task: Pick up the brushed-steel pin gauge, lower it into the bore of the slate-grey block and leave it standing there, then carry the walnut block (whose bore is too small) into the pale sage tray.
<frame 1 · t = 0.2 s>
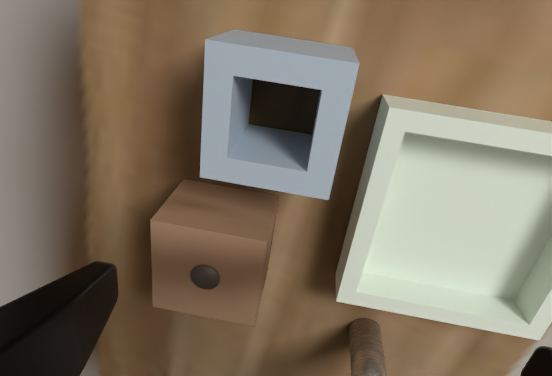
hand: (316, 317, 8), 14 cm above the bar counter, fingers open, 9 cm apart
walnut block: (228, 226, 25), on the bar counter
tray: (458, 213, 22), on the bar counter
bored block: (284, 97, 20), on the bar counter
pin gauge: (364, 329, 27), on the bar counter
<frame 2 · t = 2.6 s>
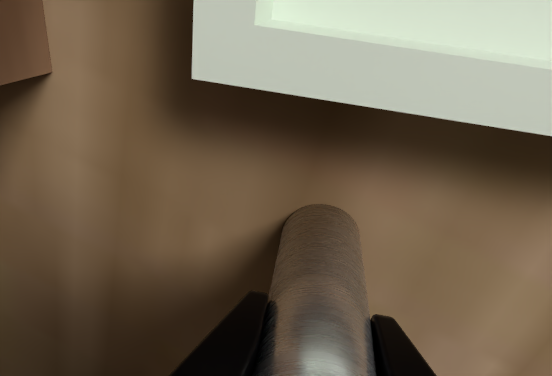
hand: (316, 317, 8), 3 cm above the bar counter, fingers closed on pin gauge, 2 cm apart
pin gauge: (320, 238, 11), on the bar counter, touching gripper
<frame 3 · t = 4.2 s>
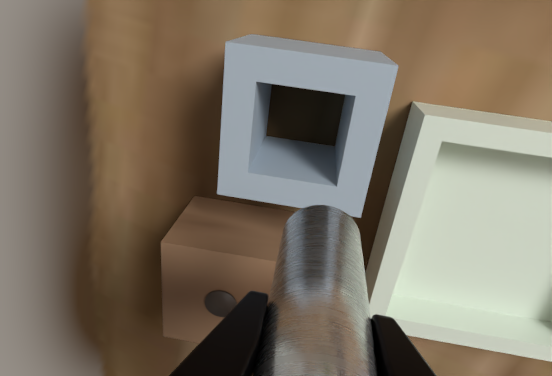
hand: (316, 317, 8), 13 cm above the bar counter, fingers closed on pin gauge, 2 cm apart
walnut block: (242, 246, 23), on the bar counter
tray: (494, 228, 20), on the bar counter
bored block: (305, 106, 19), on the bar counter
pin gauge: (320, 238, 11), point 10 cm above the bar counter, touching gripper
when the fingers open (6 cm above the bar counter, at t = 5.9 s): pin gauge drops 3 cm, resting in bored block.
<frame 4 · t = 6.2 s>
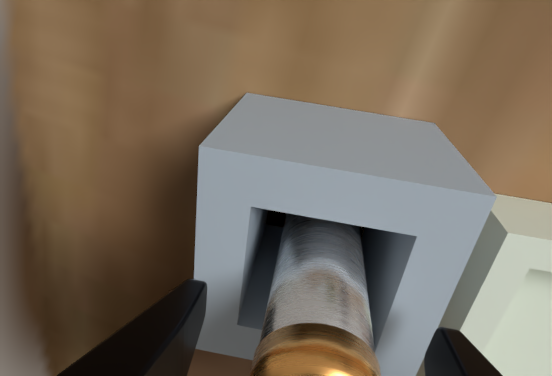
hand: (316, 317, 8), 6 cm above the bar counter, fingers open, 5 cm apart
walnut block: (233, 348, 18), on the bar counter
bored block: (321, 190, 13), on the bar counter
pin gauge: (323, 190, 13), resting in bored block
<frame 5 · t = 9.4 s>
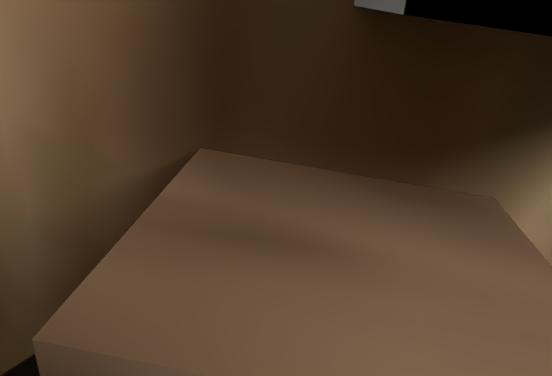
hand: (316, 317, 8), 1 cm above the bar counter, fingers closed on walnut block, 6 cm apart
walnut block: (317, 285, 9), on the bar counter, touching gripper
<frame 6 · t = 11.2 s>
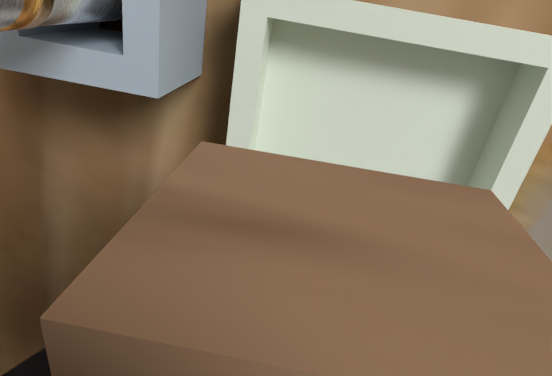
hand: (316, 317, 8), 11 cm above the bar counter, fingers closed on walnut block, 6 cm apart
walnut block: (317, 277, 9), point 10 cm above the bar counter, touching gripper
tray: (362, 148, 18), on the bar counter
when the fingers open (3 cm above the bar counter, at t = 13.2 s): walnut block drops 2 cm, resting on tray.
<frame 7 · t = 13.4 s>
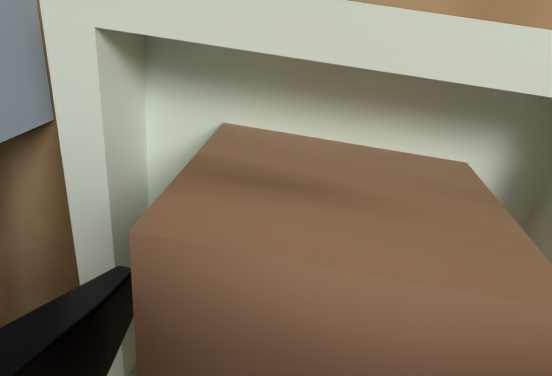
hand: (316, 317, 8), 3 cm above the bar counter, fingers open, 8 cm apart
walnut block: (320, 242, 11), point 1 cm above the bar counter, touching tray
tray: (321, 228, 11), on the bar counter
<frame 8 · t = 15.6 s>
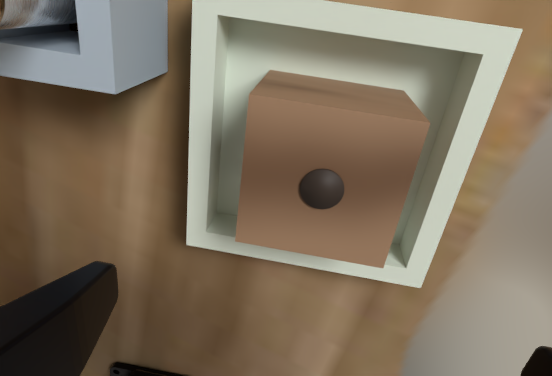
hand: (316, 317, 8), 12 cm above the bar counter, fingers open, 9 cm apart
walnut block: (323, 142, 18), point 1 cm above the bar counter, touching tray
tray: (324, 137, 19), on the bar counter
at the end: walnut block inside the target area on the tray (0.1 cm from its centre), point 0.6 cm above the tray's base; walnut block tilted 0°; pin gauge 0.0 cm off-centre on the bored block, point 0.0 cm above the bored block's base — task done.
